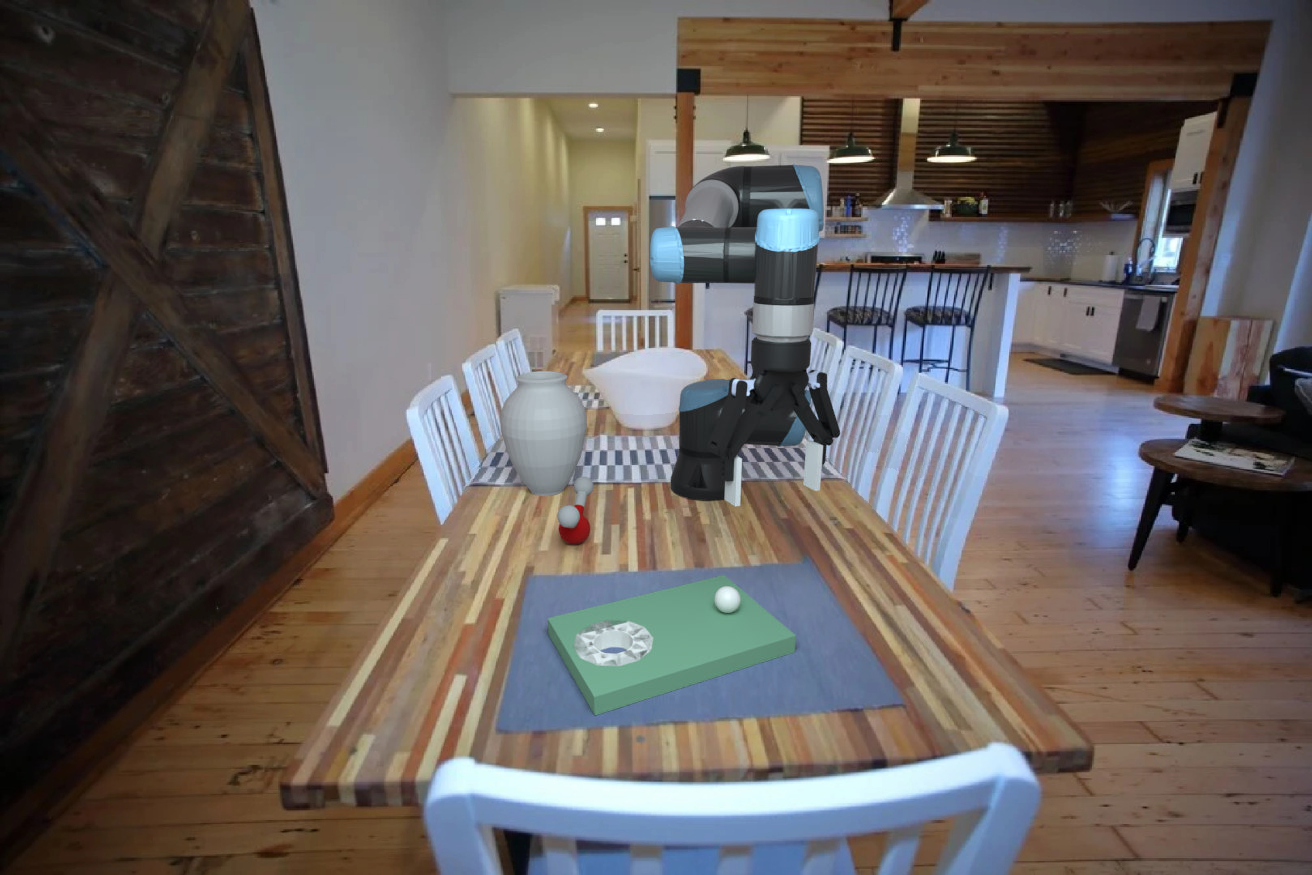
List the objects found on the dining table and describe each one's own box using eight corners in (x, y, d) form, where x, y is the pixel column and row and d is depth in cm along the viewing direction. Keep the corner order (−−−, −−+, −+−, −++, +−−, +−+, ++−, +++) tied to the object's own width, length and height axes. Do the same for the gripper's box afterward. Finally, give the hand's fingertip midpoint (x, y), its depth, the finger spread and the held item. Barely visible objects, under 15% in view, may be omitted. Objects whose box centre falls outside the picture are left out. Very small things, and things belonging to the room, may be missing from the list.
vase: (489, 488, 145) (480, 375, 137) (558, 470, 156) (553, 364, 149) (534, 513, 132) (527, 389, 125) (605, 490, 143) (602, 376, 136)
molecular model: (581, 566, 111) (579, 510, 108) (548, 565, 111) (545, 509, 108) (598, 523, 127) (597, 473, 125) (569, 522, 128) (567, 472, 125)
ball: (731, 601, 95) (732, 579, 94) (745, 614, 92) (746, 591, 91) (709, 607, 94) (709, 584, 93) (722, 620, 91) (723, 596, 90)
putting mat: (723, 589, 104) (724, 574, 103) (794, 652, 88) (796, 635, 87) (548, 634, 92) (547, 618, 91) (594, 715, 76) (594, 697, 76)
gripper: (838, 328, 93) (826, 473, 99) (682, 339, 83) (680, 499, 89) (876, 334, 87) (861, 489, 93) (712, 347, 77) (708, 520, 83)
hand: (773, 495), depth 91 cm, fingers open, 12 cm apart
